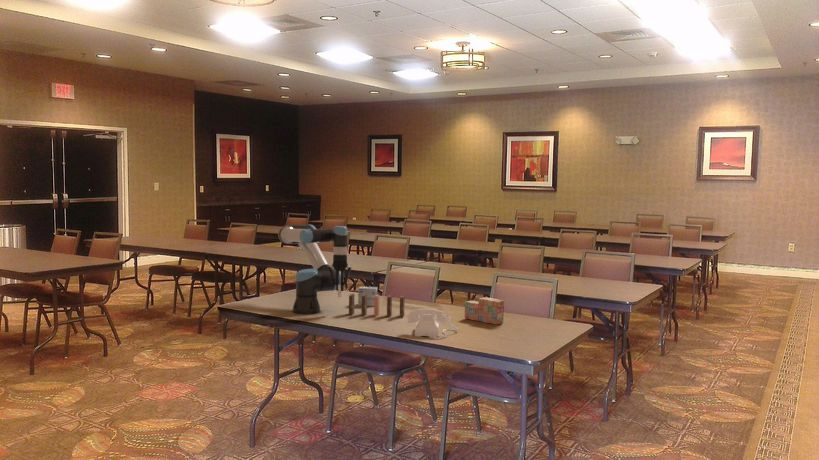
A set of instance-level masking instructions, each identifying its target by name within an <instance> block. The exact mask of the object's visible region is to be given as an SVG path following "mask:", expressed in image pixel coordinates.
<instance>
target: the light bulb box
mask: <svg viewBox="0 0 819 460" xmlns="http://www.w3.org/2000/svg"><path fill="white" fill-rule="evenodd" d="M357 291H358V292H357V293H358V294H357V297H358V298H357V299H358V300H357V302H358V305H357V306H358V307H362V295H363V294H367V307H374V296H375V295H378V286H359V287H358V289H357Z"/></svg>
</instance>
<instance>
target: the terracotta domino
mask: <svg viewBox="0 0 819 460" xmlns="http://www.w3.org/2000/svg"><path fill="white" fill-rule="evenodd" d="M373 309H374V311H373V315H374V316H373V317H378V316H379V315H380V294H377V295H375V296H374V306H373Z"/></svg>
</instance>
